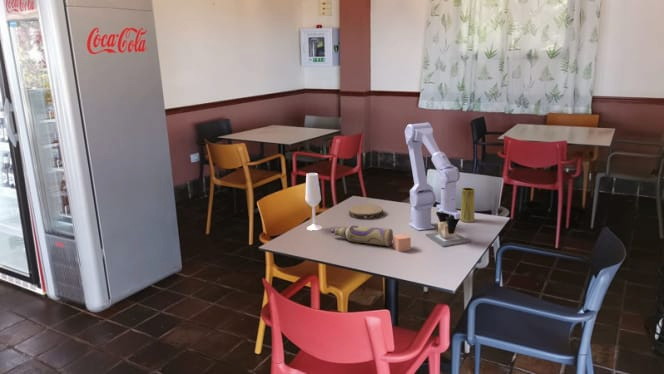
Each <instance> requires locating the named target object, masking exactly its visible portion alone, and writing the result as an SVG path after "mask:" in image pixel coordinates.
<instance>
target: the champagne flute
mask: <svg viewBox="0 0 664 374" xmlns="http://www.w3.org/2000/svg"><path fill="white" fill-rule="evenodd" d="M304 197H305V202H306V203H307V204H308V205H309V206H310V207H311V209H312V210H311V212H312V213H311V214H312V224H311V225H309V226H307V227H306V230H308V231H312V230H315V231H320V230H322V229H323V226H321V225H319V224H317V223H316V207H317V206H318V204H319V203H320V202H321V200H322V197H321V188H320V182H319V174H318V173H316V172H309V173H306V177H305V196H304Z"/></svg>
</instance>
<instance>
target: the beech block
mask: <svg viewBox="0 0 664 374" xmlns="http://www.w3.org/2000/svg"><path fill="white" fill-rule="evenodd" d="M437 226H438V227H437V232H438V234H439V235H440V236H442V237H444V238H449V237H455V236H456V233H457V227H456V228H455V232H454V234H449V233H448V225H447V221H443V222H440V221H438V225H437Z"/></svg>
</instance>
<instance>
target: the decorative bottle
mask: <svg viewBox="0 0 664 374" xmlns="http://www.w3.org/2000/svg"><path fill="white" fill-rule="evenodd" d="M330 233H332V235H335V236H338V237H341V238H346V240H347V242H348V241H349V242H351V243H359V244H369V245H378V246H383V247H385V246H386V247H390V246H391V245H393V235H394V232H393V229H392V228H385V227H376V226H375V227H374V226H365V225H358V224H357V225H355V224H350V225H349V226H348V228H347V227H341V228H339V227H336V228H332V229H331V230H330Z"/></svg>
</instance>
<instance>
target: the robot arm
mask: <svg viewBox="0 0 664 374" xmlns="http://www.w3.org/2000/svg"><path fill="white" fill-rule="evenodd" d="M404 136H405V142H406V145H407V147H408V148H407V149H408V151H409V153H408V154H409V160H410V166H411V171H412V177H413V178H412V179H413V183H414V184H413V186H412V188H410V190H409V203H410V205H411V209H410V222H408V225H409V226H410V227H412V228H414V229H415V230H417V231H426V230H432V229H435V228H436V227H435V226H434V225H432V208H433V207H434V204H436V201H437V196H436V194H435V191H434V188H433V187H434V186H432V185H430V184H429V183H428V180H427V175H426V168H425V164H424V163H425V162H424V157H423V156H424V155H423V151H422V147H423V144H424V146H425V147H426V149H427V151H428V152H429V153H430V155H431V156H432V157H431V162H432V164H433V165H434V167H435V169H436V170H437V173H438V174H437V179H438V181H439V187H440V204H436V210H437V211H436V217H437V218H438V222H443V221H447V225H448V233H449V234H454V232H455V228H456V229H457V225H458V224H459V221H461V220H460V218H461V212H459V211H458V210H457V208H456V205H457V204H456V203H457V202H456V201H457V200H456V199H457V182H458V181H460V176H461V175H460V174H461V173H460V170H459V168H458V167H456V166H455V165H453V164H452V163H451V161H450V160H449V158H448V156H447V155H446V154H445V152H444V151H441V150H440V148H439V145H438V144H437V142H436V140H435V137H434V129H433V127H432V125H431V123H429V122H422V123H413V124H412V123H409V124H407V126H406V127H405V129H404Z"/></svg>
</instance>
